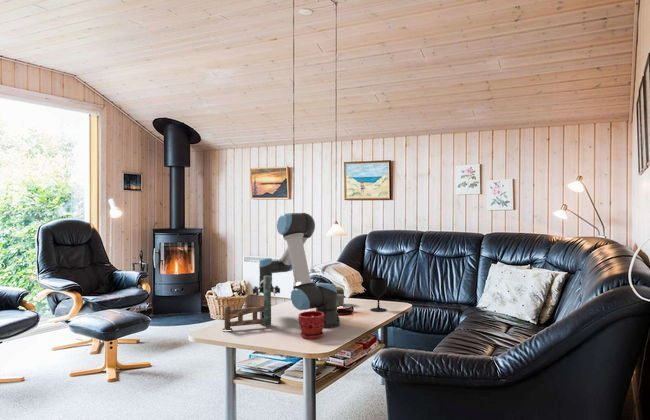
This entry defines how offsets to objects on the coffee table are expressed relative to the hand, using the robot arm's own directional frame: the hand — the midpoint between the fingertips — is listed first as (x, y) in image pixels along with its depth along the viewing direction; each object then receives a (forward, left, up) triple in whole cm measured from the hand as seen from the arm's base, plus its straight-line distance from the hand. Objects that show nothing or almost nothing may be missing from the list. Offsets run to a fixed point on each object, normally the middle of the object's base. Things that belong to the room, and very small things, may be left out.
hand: (266, 293), depth 280 cm
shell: (+41, -62, -19) cm, 77 cm away
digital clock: (+25, -51, -19) cm, 61 cm away
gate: (+4, +9, -18) cm, 20 cm away
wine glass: (+13, -78, -19) cm, 82 cm away
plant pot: (-27, -14, -19) cm, 36 cm away
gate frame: (+6, +10, -19) cm, 22 cm away
